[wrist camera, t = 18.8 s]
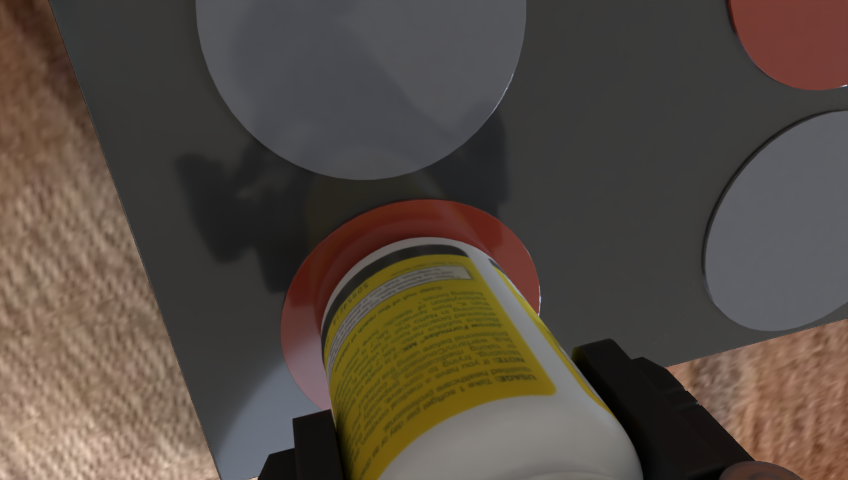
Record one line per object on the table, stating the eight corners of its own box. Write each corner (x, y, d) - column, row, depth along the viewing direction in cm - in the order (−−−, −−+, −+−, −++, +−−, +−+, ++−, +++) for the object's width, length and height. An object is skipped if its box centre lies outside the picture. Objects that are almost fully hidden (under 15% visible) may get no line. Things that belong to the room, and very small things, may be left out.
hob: (15, -146, 11) (-11, -155, 10) (1045, -257, 15) (1112, -274, 14) (223, 454, 17) (221, 490, 16) (913, 274, 21) (951, 293, 20)
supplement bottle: (283, 368, 15) (315, 776, 8) (378, 198, 14) (521, 489, 7) (451, 422, 17) (604, 789, 10) (547, 276, 16) (805, 569, 9)
